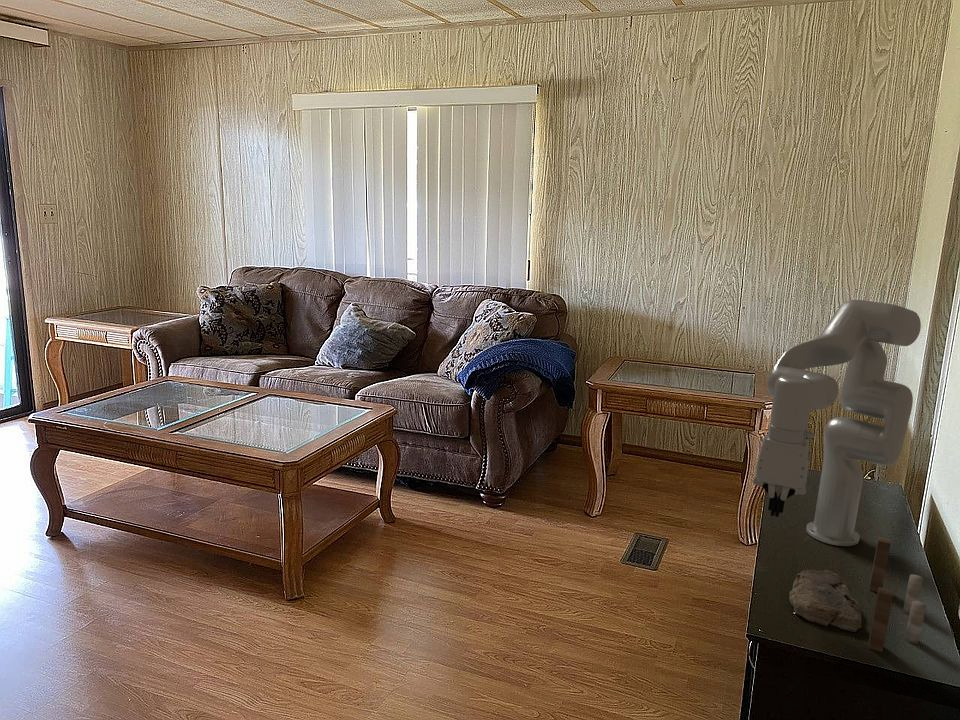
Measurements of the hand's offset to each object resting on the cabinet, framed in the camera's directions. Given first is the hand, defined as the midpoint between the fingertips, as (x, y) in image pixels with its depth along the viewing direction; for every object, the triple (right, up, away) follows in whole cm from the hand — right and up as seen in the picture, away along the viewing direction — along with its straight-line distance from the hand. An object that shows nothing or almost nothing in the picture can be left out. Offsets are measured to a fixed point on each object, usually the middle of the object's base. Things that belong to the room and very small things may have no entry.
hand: (775, 514), depth 162 cm
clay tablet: (+10, -19, -1) cm, 22 cm away
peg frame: (+22, -21, -7) cm, 31 cm away
